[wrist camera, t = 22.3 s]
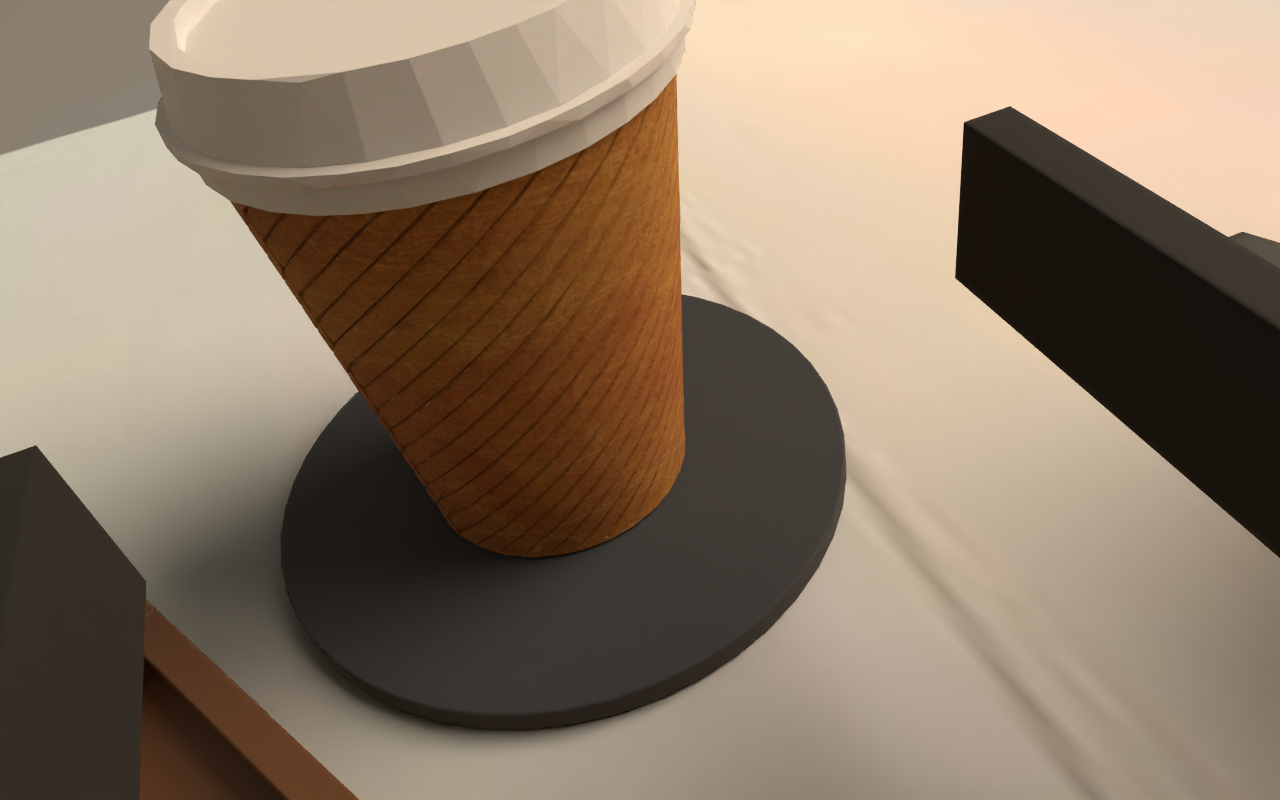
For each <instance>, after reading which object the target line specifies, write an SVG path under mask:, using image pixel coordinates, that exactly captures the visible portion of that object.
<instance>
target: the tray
mask: <svg viewBox="0 0 1280 800" xmlns="http://www.w3.org/2000/svg"><path fill="white" fill-rule="evenodd" d="M139 800H359V799H358V798H357V797H356V796H355V795H354V794H353V793H352V792H350V791H349V790H348V789H347V788H346V787H345V786H344V785H343V784H342V783H341V782H340V781H339V780H338V779H337V778H336V777H335V776H333V775H332V774H331V773H330V772H329V771H328V770H327V769H326V768H325V767H324V766H323V765H322V764H321V763H320V762H319V761H317V760H316V759H315V758H314V757H313V756H312V755H311V754H310V753H309V752H308V751H307V750H306V749H305V748H304V747H303V746H302V745H300V744H299V743H298V742H297V741H296V740H295V739H294V738H293V737H292V736H291V735H290V734H289V733H288V732H287V731H286V730H285V729H283V728H282V727H281V726H280V725H279V724H278V723H277V722H276V721H275V720H274V719H273V718H272V717H271V716H270V715H269V714H267V713H266V712H265V711H264V710H263V709H262V708H261V707H260V706H259V705H258V704H257V703H256V702H255V701H254V700H253V699H252V698H250V697H249V696H248V695H247V694H246V693H245V692H244V691H243V690H242V689H241V688H240V687H239V686H238V685H237V684H236V683H234V682H233V681H232V680H231V679H230V678H229V677H228V676H227V675H226V674H225V673H224V672H223V671H222V670H221V669H220V668H219V667H217V666H216V665H215V664H214V663H213V662H212V661H211V660H210V659H209V658H208V657H207V656H206V655H205V654H204V653H203V652H202V651H200V650H199V649H198V648H197V647H196V646H195V645H194V644H193V643H192V642H191V641H190V640H189V639H188V638H187V637H186V636H184V635H183V634H182V633H181V632H180V631H179V630H178V629H177V628H176V627H175V626H174V625H173V624H172V623H171V622H170V621H169V620H167V619H166V618H165V617H164V616H163V615H162V614H161V613H160V612H159V611H157V610H156V608H155V607H153V606H152V605H151V604H150V603H149V602H148V601H147V600H146V601H145V633H144V666H143V698H142V730H141V763H140V795H139Z"/></svg>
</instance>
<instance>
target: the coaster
mask: <svg viewBox="0 0 1280 800" xmlns="http://www.w3.org/2000/svg"><path fill="white" fill-rule="evenodd" d="M681 299H682V356H683V394H684V428H685V455H684V459H683V463H682V466H681V470H680V471H679V473H678V475H677V477H676V479H675V481H674V483H673V485H672V487H671V489H670V491H669V492H668V494H667V495H666V496H665V497H664V498H663V499H662V501H661V502H660V503H659V504H658V505H657V507H656V508H655V509H654V510H653V511H651V512H650V513H649V514H648V515H647V516H645V517H644V518H643V519H642V520H640V521H639V522H638V523H637V524H636V525H634V526H633V527H631V528H629V529H627V530H626V531H624V532H622V533H621V534H619V535H617V536H616V537H614V538H612V539H610V540H607V541H605V542H602V543H600V544H597V545H595V546H592V547H590V548H587V549H584V550H580V551H576V552H571V553H567V554H562V555H551V556H541V557H522V556H511V555H504V554H500V553H496V552H493V551H489V550H486V549H484V548H482V547H480V546H478V545H476V544H474V543H472V542H470V541H468V540H466V539H465V538H463V537H461V536H460V535H459V534H458V533H457V532H456V531H455V530H454V529H453V528H452V527H451V526H450V525H449V524H448V522H447V520H446V519H445V517H444V516H443V514H442V512H441V511H440V509H439V507H438V506H437V504H438V503H435V502H434V500H433V499H432V498H431V496H430V495H429V494H428V493H427V491H426V487H424V486H423V484H422V483H421V481H420V480H419V479H418V477H417V476H416V473H415V470H413V469H412V468H411V467H410V465H409V464H408V462H407V461H406V460H405V458H404V456H403V452H400V450H399V449H398V447H397V446H396V444H395V443H394V441H393V440H392V438H391V437H390V434H389V433H387V431H386V430H385V429H384V427H383V426H382V425H381V424H380V422H379V421H378V417H377V415H376V414H375V413H374V412H373V411H372V409H371V408H370V407H369V406H368V404H367V403H366V402H365V399H364V396H363V394H362V393H360V392H358V393H357V394H356V395H355V396H354V397H353V398H352V399H351V400H350V401H349V402H348V403H347V404H346V405H345V406H344V407H343V408H342V409H341V410H340V411H339V412H338V413H337V415H336V416H335V417H334V418H333V419H332V421H331V422H330V423H329V424H328V426H327V427H326V428H325V429H324V430H323V432H322V433H321V435H320V436H319V438H318V439H317V441H316V442H315V444H314V445H313V447H312V448H311V450H310V452H309V453H308V455H307V456H306V458H305V460H304V462H303V464H302V466H301V468H300V470H299V473H298V475H297V477H296V479H295V481H294V483H293V486H292V489H291V492H290V496H289V499H288V502H287V505H286V508H285V513H284V520H283V526H282V532H281V566H282V571H283V576H284V581H285V586H286V591H287V594H288V596H289V599H290V601H291V604H292V606H293V608H294V611H295V613H296V616H297V618H298V620H299V621H300V623H301V624H302V626H303V627H304V629H305V630H306V632H307V633H308V635H309V636H310V638H311V639H312V640H313V642H314V643H315V645H316V646H317V648H318V649H319V651H320V652H321V654H322V655H323V656H324V657H325V658H326V659H327V660H328V661H329V662H330V663H331V664H332V665H333V666H334V667H335V668H336V669H337V670H338V671H339V672H340V673H341V674H342V675H343V676H344V677H345V678H347V679H348V680H349V681H351V682H352V683H354V684H355V685H357V686H358V687H360V688H361V689H362V690H364V691H365V692H367V693H368V694H370V695H371V696H373V697H375V698H377V699H379V700H381V701H383V702H386V703H388V704H390V705H392V706H394V707H396V708H398V709H401V710H403V711H405V712H408V713H412V714H415V715H418V716H422V717H425V718H429V719H432V720H435V721H439V722H442V723H448V724H455V725H462V726H469V727H476V728H482V729H535V728H545V727H554V726H563V725H572V724H576V723H581V722H585V721H589V720H594V719H598V718H602V717H607V716H611V715H615V714H619V713H622V712H624V711H627V710H630V709H633V708H636V707H638V706H641V705H644V704H647V703H650V702H652V701H655V700H658V699H661V698H663V697H665V696H667V695H669V694H671V693H673V692H675V691H677V690H679V689H681V688H683V687H685V686H687V685H689V684H691V683H693V682H695V681H697V680H699V679H701V678H703V677H704V676H706V675H707V674H709V673H710V672H712V671H714V670H715V669H717V668H718V667H720V666H721V665H723V664H724V663H726V662H727V661H729V660H730V659H732V658H734V657H735V656H737V655H738V654H739V653H740V652H742V651H743V650H744V649H745V648H746V647H748V646H749V645H750V644H751V643H752V642H754V641H755V640H756V639H757V638H758V637H760V636H761V635H762V634H763V633H764V632H765V631H767V630H768V629H769V628H770V627H771V626H772V625H773V624H774V623H775V622H776V621H777V620H778V618H779V617H780V616H781V615H782V614H783V613H784V612H785V611H786V610H787V609H788V608H789V606H790V605H791V604H792V603H793V602H794V601H795V600H796V599H797V598H798V596H799V595H800V593H801V592H802V590H803V589H804V587H805V586H806V585H807V583H808V582H809V580H810V579H811V577H812V576H813V574H814V573H815V571H816V570H817V569H818V567H819V565H820V563H821V561H822V559H823V557H824V555H825V553H826V551H827V549H828V547H829V545H830V543H831V540H832V538H833V536H834V533H835V530H836V527H837V523H838V520H839V517H840V513H841V510H842V507H843V499H844V491H845V483H846V459H845V443H844V433H843V429H842V425H841V421H840V417H839V413H838V409H837V407H836V405H835V403H834V401H833V399H832V396H831V394H830V392H829V390H828V388H827V386H826V384H825V383H824V381H823V380H822V378H821V377H820V376H819V374H818V373H817V371H816V370H815V368H814V367H813V365H812V364H811V363H810V362H809V361H808V360H807V359H806V358H805V357H804V356H803V355H802V354H801V352H800V351H799V350H798V349H797V348H796V347H795V346H794V345H793V344H791V343H790V342H789V341H787V340H786V339H785V338H783V337H782V336H781V335H780V334H778V333H777V332H776V331H774V330H773V329H771V328H770V327H768V326H766V325H764V324H763V323H761V322H759V321H757V320H756V319H754V318H752V317H750V316H748V315H746V314H744V313H741V312H739V311H736V310H734V309H732V308H729V307H727V306H724V305H721V304H718V303H714V302H711V301H708V300H704V299H701V298H697V297H692V296H687V295H682V294H681Z"/></svg>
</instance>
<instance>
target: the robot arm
mask: <svg viewBox="0 0 1280 800" xmlns="http://www.w3.org/2000/svg"><path fill="white" fill-rule="evenodd" d="M955 278H956V279H957V280H958V281H959V282H961V283H962V284H963V285H964V286H965V287H966V288H968V289H969V290H970V291H971V292H972V293H973V294H974V295H976V296H977V297H978V298H979V299H980V300H981V301H983V302H984V303H985V304H986V305H987V306H988V307H990V308H991V309H992V310H993V311H994V312H995V313H996V314H998V315H999V316H1000V317H1001V318H1002V319H1003V320H1005V321H1006V322H1007V323H1008V324H1009V325H1010V326H1012V327H1013V328H1014V329H1015V330H1016V331H1017V332H1019V333H1020V334H1021V335H1022V336H1023V337H1024V338H1025V339H1027V340H1028V341H1029V342H1030V343H1031V344H1032V345H1034V346H1035V347H1036V348H1037V349H1038V350H1039V351H1041V352H1042V353H1043V354H1044V355H1045V356H1046V357H1047V358H1049V359H1050V360H1051V361H1052V362H1053V363H1054V364H1056V365H1057V366H1058V367H1059V368H1060V369H1061V370H1063V371H1064V372H1065V373H1066V374H1067V375H1068V376H1069V377H1071V378H1072V379H1073V380H1074V381H1075V382H1076V383H1078V384H1079V385H1080V386H1081V387H1082V388H1083V389H1085V390H1086V391H1087V392H1088V393H1089V394H1090V395H1092V396H1093V397H1094V398H1095V399H1096V400H1097V401H1098V402H1100V403H1101V404H1102V405H1103V406H1104V407H1105V408H1107V409H1108V410H1109V411H1110V412H1111V413H1112V414H1114V415H1115V416H1116V417H1117V418H1118V419H1119V420H1120V421H1122V422H1123V423H1124V424H1125V425H1126V426H1127V427H1129V428H1130V429H1131V430H1132V431H1133V432H1134V433H1136V434H1137V435H1138V436H1139V437H1140V438H1141V439H1142V440H1144V441H1145V442H1146V443H1147V444H1148V445H1149V446H1151V447H1152V448H1153V449H1154V450H1155V451H1156V452H1158V453H1159V454H1160V455H1161V456H1162V457H1163V458H1165V459H1166V460H1167V461H1168V462H1169V463H1170V464H1171V465H1173V466H1174V467H1175V468H1176V469H1177V470H1178V471H1180V472H1181V473H1182V474H1183V475H1184V476H1185V477H1187V478H1188V479H1189V480H1190V481H1191V482H1192V483H1193V484H1195V485H1196V486H1197V487H1198V488H1199V489H1200V490H1202V491H1203V492H1204V493H1205V494H1206V495H1207V496H1209V497H1210V498H1211V499H1212V500H1213V501H1214V502H1216V503H1217V504H1218V505H1219V506H1220V507H1221V508H1222V509H1224V510H1225V511H1226V512H1227V513H1228V514H1229V515H1231V516H1232V517H1233V518H1234V519H1235V520H1236V521H1238V522H1239V523H1240V524H1241V525H1242V526H1243V527H1244V528H1246V529H1247V530H1248V531H1249V532H1250V533H1251V534H1253V535H1254V536H1255V537H1256V538H1257V539H1258V540H1260V541H1261V542H1262V543H1263V544H1264V545H1265V546H1266V547H1268V548H1269V549H1270V550H1271V551H1272V552H1273V553H1275V554H1276V555H1277V556H1278V557H1279V558H1280V243H1278V242H1275V241H1271V240H1268V239H1265V238H1261V237H1258V236H1255V235H1251V234H1248V233H1245V232H1241V233H1238V234H1235V235H1233V236H1230V237H1227V236H1225V235H1224V234H1222V233H1220V232H1219V231H1217V230H1215V229H1214V228H1212V227H1210V226H1209V225H1207V224H1205V223H1204V222H1202V221H1200V220H1199V219H1197V218H1195V217H1194V216H1192V215H1190V214H1189V213H1187V212H1185V211H1184V210H1182V209H1180V208H1179V207H1177V206H1175V205H1174V204H1172V203H1170V202H1169V201H1167V200H1165V199H1164V198H1162V197H1160V196H1159V195H1157V194H1155V193H1154V192H1152V191H1150V190H1149V189H1147V188H1145V187H1144V186H1142V185H1140V184H1139V183H1137V182H1135V181H1134V180H1132V179H1130V178H1129V177H1127V176H1125V175H1124V174H1122V173H1120V172H1119V171H1117V170H1115V169H1114V168H1112V167H1110V166H1109V165H1107V164H1105V163H1104V162H1102V161H1100V160H1099V159H1097V158H1095V157H1094V156H1092V155H1090V154H1089V153H1087V152H1085V151H1084V150H1082V149H1080V148H1079V147H1077V146H1075V145H1074V144H1072V143H1070V142H1069V141H1067V140H1065V139H1064V138H1062V137H1060V136H1059V135H1057V134H1055V133H1054V132H1052V131H1050V130H1049V129H1047V128H1045V127H1044V126H1042V125H1040V124H1039V123H1037V122H1035V121H1034V120H1032V119H1030V118H1029V117H1027V116H1025V115H1024V114H1022V113H1020V112H1019V111H1017V110H1015V109H1014V108H1012V107H1007V108H1004V109H1001V110H998V111H995V112H993V113H990V114H987V115H984V116H981V117H978V118H975V119H972V120H970V121H967V122H964V131H963V149H962V167H961V185H960V203H959V220H958V238H957V256H956V274H955ZM145 601H146V581H145V579H144V578H143V577H142V576H141V575H140V573H139V572H138V571H137V570H136V568H135V567H134V566H133V565H132V563H131V562H130V561H129V560H128V558H127V557H126V556H125V555H124V554H123V552H122V551H121V550H120V549H119V547H118V546H117V545H116V544H115V542H114V541H113V540H112V539H111V537H110V536H109V535H108V534H107V533H106V531H105V530H104V529H103V528H102V526H101V525H100V524H99V523H98V521H97V520H96V519H95V518H94V516H93V515H92V514H91V513H90V511H89V510H88V509H87V508H86V507H85V505H84V504H83V503H82V502H81V500H80V499H79V498H78V497H77V495H76V494H75V493H74V492H73V490H72V489H71V488H70V487H69V486H68V484H67V483H66V482H65V481H64V479H63V478H62V477H61V476H60V474H59V473H58V472H57V471H56V469H55V468H54V467H53V466H52V465H51V463H50V462H49V461H48V460H47V458H46V457H45V456H44V455H43V453H42V452H41V451H40V450H39V448H38V447H37V446H33V447H30V448H27V449H24V450H21V451H19V452H16V453H13V454H10V455H7V456H4V457H1V458H0V800H139V795H140V763H141V730H142V698H143V666H144V633H145Z"/></svg>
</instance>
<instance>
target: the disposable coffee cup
mask: <svg viewBox="0 0 1280 800" xmlns="http://www.w3.org/2000/svg"><path fill="white" fill-rule="evenodd" d="M695 5H696V3H695V0H170V1H169V2H168V3H167V5H166V6H165V7H164V8H163V10H162V11H161V12H160V13H159V14H158V16H157V17H156V18H155V19H154V21H153V22H152V23H151V32H150V47H149V49H150V53H151V57H152V61H153V65H154V68H155V72H156V76H157V79H158V83H159V87H160V91H161V94H162V97H161V99H160V101H159V102H158V107H157V114H156V121H155V125H156V127H157V129H158V131H159V133H160V135H161V137H162V139H163V141H164V143H165V145H166V147H167V148H168V149H169V151H170V152H171V153H172V154H173V155H174V156H175V157H176V159H177V160H178V161H179V162H181V163H182V164H184V165H186V166H187V167H189V168H190V169H192V170H193V171H195V172H197V173H198V174H199V175H200V176H201V178H202V179H203V181H204V182H205V184H206V185H207V186H209V187H210V188H212V189H213V190H215V191H216V192H218V193H219V194H221V195H222V196H224V197H225V198H227V199H228V200H230V201H231V203H232V204H233V206H234V207H235V209H236V210H237V212H238V213H239V215H240V216H241V218H242V219H243V220H244V222H245V223H246V225H247V226H248V227H249V229H250V231H251V232H252V234H253V235H254V237H255V238H256V240H257V241H258V243H259V244H260V246H261V247H262V248H263V250H264V251H265V253H266V254H267V255H268V258H269V259H270V260H271V262H272V263H273V265H274V266H275V268H276V269H277V271H278V272H279V274H280V275H281V276H282V278H283V279H284V280H285V283H286V284H287V286H288V287H289V288H290V290H291V291H292V293H293V294H294V296H295V297H296V299H297V300H298V302H299V303H300V304H301V305H302V307H303V309H304V311H305V312H306V314H307V315H308V317H309V318H310V320H311V321H312V323H313V324H314V326H315V327H316V328H317V329H318V331H319V333H320V334H321V336H322V337H323V339H324V340H325V342H326V343H327V344H328V346H329V347H330V349H331V350H332V351H333V352H334V355H335V356H336V358H337V359H338V361H339V362H340V363H341V365H342V366H343V368H344V369H345V371H346V372H347V373H348V374H349V377H350V378H351V380H352V382H353V383H354V385H355V386H356V388H357V389H358V391H359V392H360V393H362V394H363V396H364V399H365V402H366V403H367V404H368V406H369V407H370V408H371V409H372V411H373V412H374V413H375V414H376V415H377V417H378V421H379V422H380V424H381V425H382V426H383V427H384V429H385V430H386V431H387V433H389V434H390V437H391V438H392V440H393V441H394V443H395V444H396V446H397V447H398V449H399V450H400V452H403V456H404V458H405V460H406V461H407V462H408V464H409V465H410V467H411V468H412V469H413V470H415V473H416V476H417V477H418V479H419V480H420V481H421V483H422V484H423V486H424V487H426V491H427V493H428V494H429V495H430V496H431V498H432V499H433V500H434V502H435V503H438V504H437V506H438V507H439V509H440V511H441V512H442V514H443V516H444V517H445V519H446V520H447V522H448V524H449V525H450V526H451V527H452V528H453V529H454V530H455V531H456V532H457V533H458V534H459V535H460V536H461V537H463V538H465V539H466V540H468V541H470V542H472V543H474V544H476V545H478V546H480V547H482V548H484V549H486V550H489V551H493V552H496V553H500V554H504V555H511V556H522V557H541V556H551V555H562V554H567V553H571V552H576V551H580V550H584V549H587V548H590V547H592V546H595V545H597V544H600V543H602V542H605V541H607V540H610V539H612V538H614V537H616V536H617V535H619V534H621V533H622V532H624V531H626V530H627V529H629V528H631V527H633V526H634V525H636V524H637V523H638V522H639V521H640V520H642V519H643V518H644V517H645V516H647V515H648V514H649V513H650V512H651V511H653V510H654V509H655V508H656V507H657V505H658V504H659V503H660V502H661V501H662V499H663V498H664V497H665V496H666V495H667V494H668V492H669V491H670V489H671V487H672V485H673V483H674V481H675V479H676V477H677V475H678V473H679V471H680V470H681V466H682V463H683V459H684V455H685V428H684V394H683V356H682V299H681V258H680V199H679V172H678V128H677V86H676V77H677V70H678V68H679V65H680V63H681V60H682V58H683V55H684V53H685V35H686V34H687V33H688V32H689V30H690V29H691V24H692V19H693V14H694V9H695Z"/></svg>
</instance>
